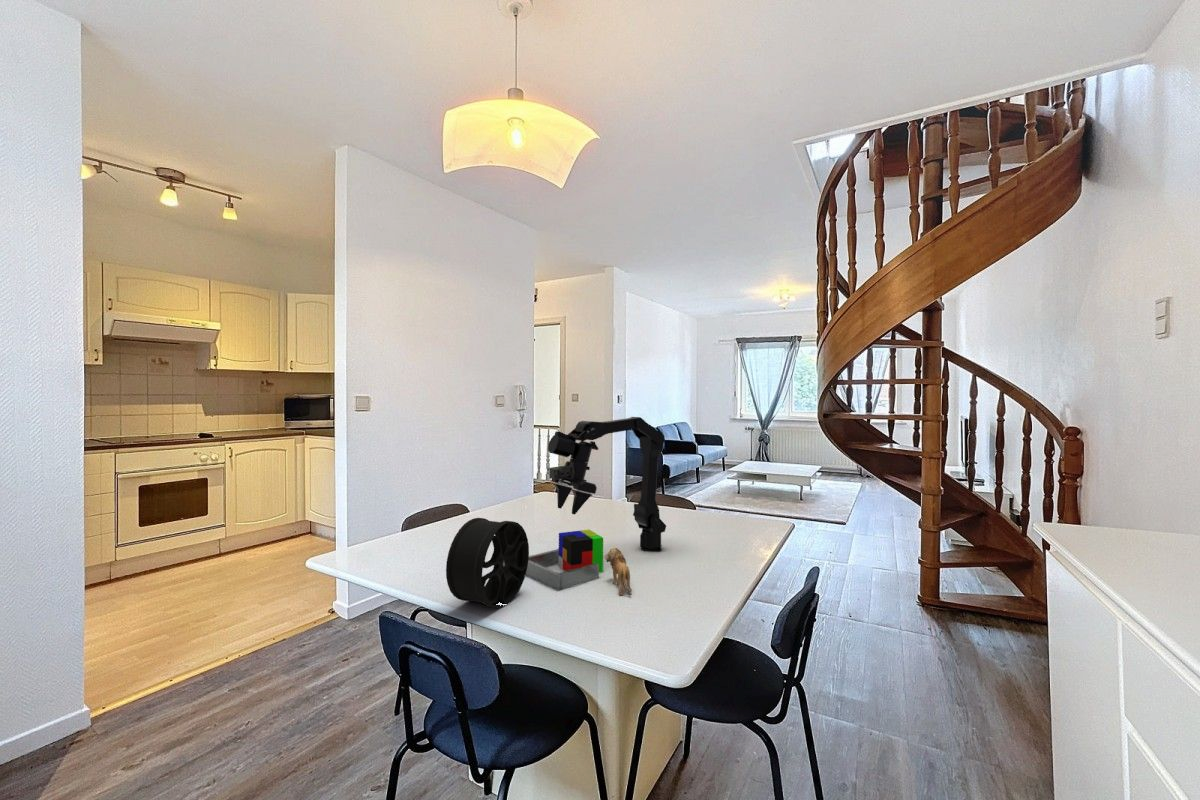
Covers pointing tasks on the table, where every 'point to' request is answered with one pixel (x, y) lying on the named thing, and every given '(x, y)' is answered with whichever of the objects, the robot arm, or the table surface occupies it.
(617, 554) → the lion figurine
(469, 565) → the car wheel rim
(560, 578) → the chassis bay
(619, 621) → the table surface
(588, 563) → the puzzle toy
